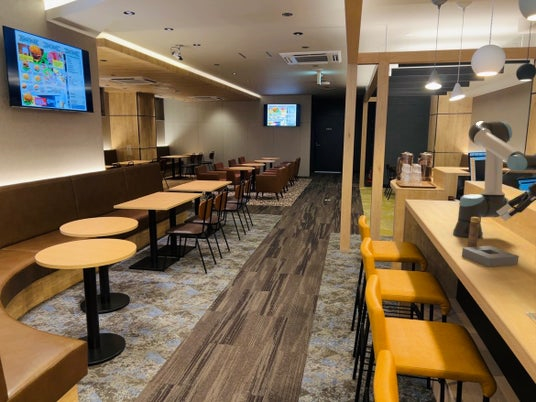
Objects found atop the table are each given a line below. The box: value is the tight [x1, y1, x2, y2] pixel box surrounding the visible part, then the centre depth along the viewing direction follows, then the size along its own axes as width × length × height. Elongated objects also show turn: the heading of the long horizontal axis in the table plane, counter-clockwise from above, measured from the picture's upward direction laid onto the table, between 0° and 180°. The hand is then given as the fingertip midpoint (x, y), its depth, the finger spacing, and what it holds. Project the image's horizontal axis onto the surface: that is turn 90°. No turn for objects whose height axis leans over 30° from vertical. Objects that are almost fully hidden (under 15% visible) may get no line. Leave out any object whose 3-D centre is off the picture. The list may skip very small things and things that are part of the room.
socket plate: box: [461, 245, 520, 268], centre depth 180 cm, size 16×16×4 cm
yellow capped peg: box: [467, 217, 480, 247], centre depth 197 cm, size 4×4×16 cm
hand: (500, 216), depth 191 cm, fingers open, 13 cm apart
